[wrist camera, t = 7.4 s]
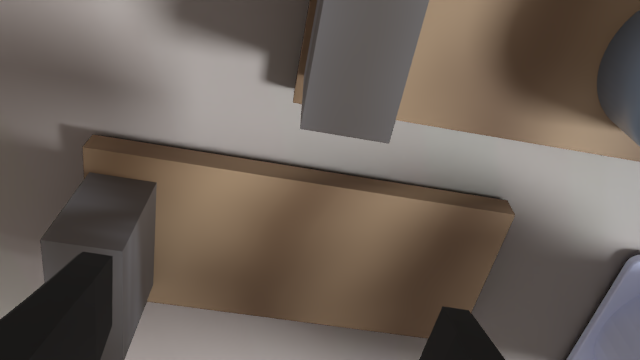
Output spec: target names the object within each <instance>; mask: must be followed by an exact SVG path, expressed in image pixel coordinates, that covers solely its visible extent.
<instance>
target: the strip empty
mask: <svg viewBox="0 0 640 360" xmlns="http://www.w3.org/2000/svg"><path fill="white" fill-rule="evenodd" d="M83 168H84V180H83V182H82V183H81V184H80V186H79V187H78V189H77V190H76V191H75V193H74V194H73V196H72V197H71V198H70V200H69V201H68V202H67V204H66V205H65V207H64V208H63V209H62V211H61V212H60V214H59V215H58V216H57V218H56V219H55V220H54V222H53V223H52V225H51V226H50V227H49V229H48V230H47V231H46V233H45V234H44V236H43V237H42V238H41V240H40V242H41V251H42V261H43V271H44V281H45V283H46V282H47V281H48V280H49V279H50V278H52V277H53V276H54V275H55V274H56V273H57V272H58V271H60V270H61V269H62V268H63V267H64V266H65V265H67V264H68V263H69V262H70V261H71V260H72V259H73V258H75V257H76V256H77V255H78V254H80V253H81V252H90V253H96V254H103V255H109V256H113V286H112V328H111V331H110V333H109V336H108V339H107V342H106V345H105V348H104V351H103V354H102V356H101V359H100V360H124V359H125V356H126V354H127V351H128V349H129V346H130V344H131V341H132V338H133V336H134V333H135V331H136V328H137V325H138V323H139V320H140V318H141V315H142V312H143V310H144V307H145V305H146V302H155V303H162V304H170V305H178V306H185V307H193V308H200V309H208V310H215V311H223V312H231V313H238V314H246V315H253V316H261V317H269V318H276V319H284V320H291V321H299V322H307V323H314V324H322V325H329V326H337V327H345V328H352V329H360V330H367V331H375V332H383V333H390V334H398V335H405V336H413V337H420V338H428V339H429V336H430V334H431V332H432V329H433V327H434V325H435V322H436V320H437V318H438V316H439V313H440V311H441V309H442V306H444V307H451V308H457V309H464V310H469V311H470V313H471V312H472V310H473V308H474V305H475V303H476V301H477V299H478V296H479V294H480V292H481V290H482V288H483V285H484V283H485V281H486V279H487V277H488V274H489V272H490V270H491V268H492V265H493V263H494V261H495V259H496V257H497V254H498V252H499V250H500V248H501V245H502V243H503V241H504V239H505V237H506V234H507V232H508V230H509V228H510V225H511V223H512V221H513V219H514V217H515V214H514V212H513V210H512V208H511V206H510V204H509V203H508V201H507V200H501V199H495V198H489V197H482V196H476V195H470V194H463V193H457V192H451V191H445V190H438V189H432V188H426V187H419V186H413V185H407V184H401V183H394V182H388V181H382V180H375V179H369V178H363V177H357V176H350V175H344V174H338V173H332V172H325V171H319V170H313V169H306V168H300V167H294V166H288V165H281V164H275V163H269V162H262V161H256V160H250V159H244V158H237V157H231V156H225V155H218V154H212V153H206V152H200V151H193V150H187V149H181V148H174V147H168V146H162V145H156V144H149V143H143V142H137V141H131V140H124V139H118V138H112V137H105V136H99V135H92V136H91V137H90V139H89V140H88V141H87V142H86V143H85V145H84V146H83Z"/></svg>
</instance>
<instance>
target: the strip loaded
mask: <svg viewBox="0 0 640 360" xmlns="http://www.w3.org/2000/svg"><path fill="white" fill-rule="evenodd" d="M639 10H640V0H310V2H309V7H308V13H307V19H306V25H305V31H304V37H303V43H302V49H301V54H300V60H299V66H298V72H297V78H296V84H295V90H294V98H293V103H299V104H302V111H301V125H300V129H305V130H311V131H317V132H323V133H329V134H335V135H341V136H347V137H353V138H359V139H365V140H371V141H377V142H383V143H389V142H390V138H391V135H392V131H393V128H394V124H395V120H399V121H404V122H410V123H416V124H422V125H428V126H434V127H440V128H445V129H451V130H457V131H463V132H469V133H475V134H481V135H486V136H492V137H498V138H504V139H510V140H516V141H522V142H528V143H533V144H539V145H545V146H551V147H557V148H563V149H569V150H574V151H580V152H586V153H592V154H598V155H604V156H610V157H615V158H621V159H627V160H633V161H639V162H640V146H638V145H637V144H636V143H635V142H634V141H633V140H632V139H631V138H630V137H629V136H628V135H626V134H625V133H624V132H623V131H622V130H621V129H620V128H619V127H618V126H617V125H615V124H614V123H613V122H612V121H611V120H610V119H609V118H608V116H607V115H606V114H605V112H604V111H603V109H602V107H601V104H600V102H599V99H598V93H597V76H598V70H599V66H600V63H601V60H602V57H603V55H604V52H605V50H606V49H607V47H608V45H609V43H610V41H611V40H612V39H613V37H614V36H615V34H616V33H617V31H618V30H619V29H620V28H621V27H622V26H623V24H624V23H625V22H626V21H627V20H628V19H629V18H630V17H632V16H633V15H634V14H635V13H636V12H637V11H639Z"/></svg>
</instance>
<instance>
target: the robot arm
mask: <svg viewBox="0 0 640 360" xmlns="http://www.w3.org/2000/svg"><path fill="white" fill-rule="evenodd" d="M112 286H113V256H109V255H103V254H96V253H90V252H81V253H80V254H78V255H77V256H76V257H75V258H73V259H72V260H71V261H70V262H69V263H68V264H67V265H65V266H64V267H63V268H62V269H61V270H60V271H58V272H57V273H56V274H55V275H54V276H53V277H52V278H50V279H49V280H48V281H47V282H46V283H45V284H43V285H42V286H41V287H40V288H39V289H37V290H36V291H35V292H34V293H33V294H31V295H30V296H29V297H28V298H26V299H25V300H24V301H23V302H21V303H20V304H19V305H18V306H16V307H15V308H14V309H13V310H11V311H10V312H9V313H8V314H6V315H5V316H4V317H3V318H1V319H0V360H100V359H101V356H102V354H103V351H104V348H105V345H106V342H107V339H108V336H109V333H110V331H111V328H112ZM419 360H505V359H504V357H503V356H502V355H501V353H500V352H499V351H498V349H497V348H496V347H495V345H494V344H493V342H492V341H491V340H490V338H489V337H488V336H487V334H486V333H485V331H484V330H483V329H482V327H481V326H480V325H479V323H478V322H477V321H476V319H475V318H474V317H473V315H472V314H471V313H470V311H469V310H464V309H457V308H451V307H444V306H442V309H441V311H440V313H439V316H438V318H437V320H436V322H435V325H434V327H433V329H432V332H431V334H430V336H429V339H428V341H427V343H426V346H425V348H424V350H423V353H422V355H421V357H420V359H419ZM566 360H640V255H636V256H633V257H631V258H629V259H628V261H627V262H626V263H625V265H624V266H623V268H622V270H621V271H620V273H619V275H618V276H617V278H616V279H615V281H614V283H613V284H612V286H611V288H610V289H609V291H608V293H607V294H606V296H605V297H604V299H603V301H602V302H601V304H600V306H599V307H598V309H597V311H596V312H595V314H594V315H593V317H592V319H591V320H590V322H589V324H588V325H587V327H586V328H585V330H584V332H583V333H582V335H581V337H580V338H579V340H578V342H577V343H576V345H575V346H574V348H573V350H572V351H571V353H570V355H569V356H568V358H567V359H566Z"/></svg>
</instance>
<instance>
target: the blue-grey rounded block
mask: <svg viewBox="0 0 640 360" xmlns="http://www.w3.org/2000/svg"><path fill="white" fill-rule="evenodd" d="M597 93H598V99H599V102H600V104H601V107H602V109H603V111H604V112H605V114H606V115H607V116H608V118H609V119H610V120H611V121H612V122H613V123H614V124H615V125H617V126H618V127H619V128H620V129H621V130H622V131H623V132H624V133H625V134H626V135H628V136H629V137H630V138H631V139H632V140H633V141H634V142H635V143H636V144H637V145H638V146H640V10H639V11H637V12H636V13H635V14H634V15H633V16H632V17H630V18H629V19H628V20H627V21H626V22H625V23H624V24H623V26H622V27H621V28H620V29H619V30H618V31H617V33H616V34H615V36H614V37H613V39H612V40H611V41H610V43H609V45H608V47H607V49H606V50H605V52H604V55H603V57H602V60H601V63H600V66H599V70H598V76H597Z"/></svg>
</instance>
